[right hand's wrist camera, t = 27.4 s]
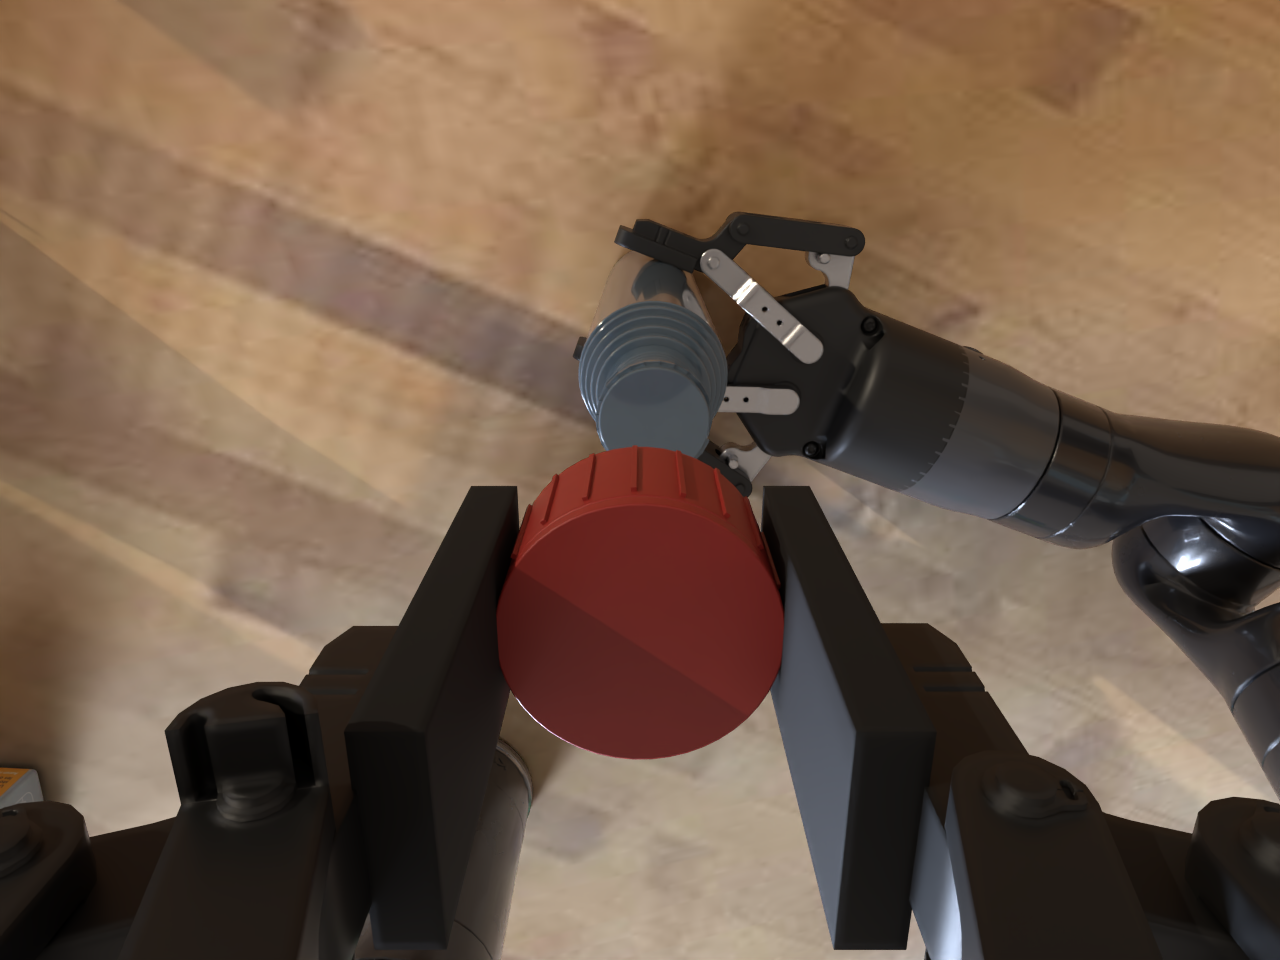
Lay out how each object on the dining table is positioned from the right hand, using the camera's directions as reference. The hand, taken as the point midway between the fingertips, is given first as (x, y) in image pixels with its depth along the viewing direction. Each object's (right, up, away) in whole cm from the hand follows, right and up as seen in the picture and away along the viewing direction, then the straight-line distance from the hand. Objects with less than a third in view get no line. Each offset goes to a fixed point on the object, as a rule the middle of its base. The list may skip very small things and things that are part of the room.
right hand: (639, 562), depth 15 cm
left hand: (-2, +10, +25) cm, 27 cm away
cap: (0, -1, -2) cm, 2 cm away
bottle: (+1, +11, +32) cm, 34 cm away
